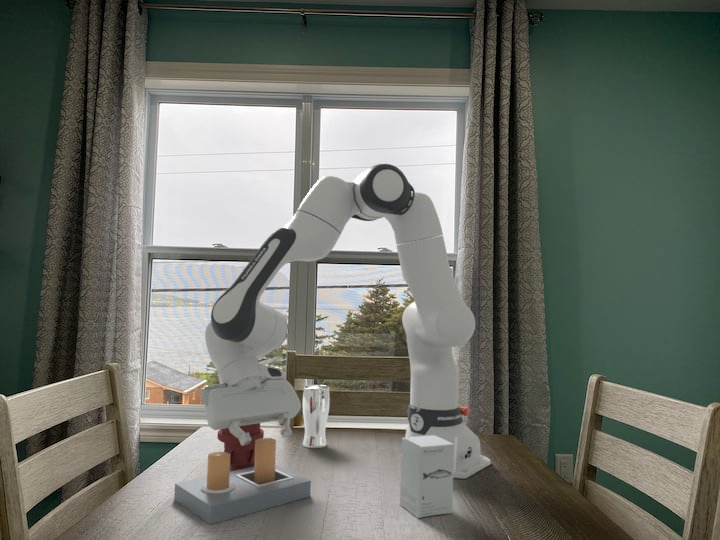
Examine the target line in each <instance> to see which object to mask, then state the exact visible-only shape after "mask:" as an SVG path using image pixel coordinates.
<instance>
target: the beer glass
mask: <svg viewBox="0 0 720 540" xmlns="http://www.w3.org/2000/svg"><path fill="white" fill-rule="evenodd" d="M302 394H303V395H302V415H303V416H302V417H303V423H304V437H303V441H302V446H303V447H304V448H307V449H323V448H325V447H326V446H327V439H326V428H327V422H328V418H329V417H328V416H329V412H330V386H328V385H324V384H308V385H307V384H306V385H304V386H303V393H302Z"/></svg>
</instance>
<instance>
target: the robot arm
mask: <svg viewBox="0 0 720 540" xmlns="http://www.w3.org/2000/svg"><path fill="white" fill-rule="evenodd" d="M383 218H384V219H386V220H387V221H388V223H389V224H390V226H391V228H392V231H393V233H394V239H395V245H396V250H397V254H398V260H399V265H400V270H401V274H402V278H403V280H404V281H405V283H406V284H407V285H406V286H408V288H409V291H410V293H411V296H412V298H413V300H414V301H413V302H411V303H410V304H409V305H408V306H406V308H405V309H404V311H403V313H402V318H401V319H402V320H401V321H402V327H403V329H404V331H405V337H406V344H407V351H408V358H409V365H410V388H409V389H410V391H409V393H410V395H409V397H410V398H409V399H410V402H409V404H408V405H407V406H408V407H407V421H408V424H407V426H406V429H405V436H404V437H418V436H431V435H435V436H437V437H440V438H442V439H444V440H446V441H449V442H451V443H453V444H454V470H453V479H467V478H469V477H471V476H473V475H475V474H476V473H477V472H479V471H482V470H483V469H485V468H486V467H488V466H490V465H491V464H492V463H491V462H492V461H491V459H490V458H489V457H487V456H485V455H482V452H481V441H480V439H479V436H478V435H476V433H474V432H473V431H472V430H471V429H470V428H469V427H468V426H467V425H466V424H465V423H464V419H463V416H464V417H468V416H469V414H470V412H471V411H470V407H467V406H462V405H461V406H459V387H460V386H459V385H460V384H459V383H460V373H459V370H458V368H457V366H456V362H455V360H454V354H453V351H452V348H455V347H460V346H462V345H464V344H466V343H467V342H468V341H470V339H471V338H472V336H473V335H474V334H475V330H476V319H475V318H476V317H475V316H474V313H473V312H472V310H471V309H470V307H469V306H468V305H467V304H466V302H465V301H464V298H463V297H462V294H461V292H460V289H459V287H458V285H457V282H456V280H455V278H454V275H453V272H452V269H451V266H450V262H449V257H448V252H447V247H446V243H445V238H444V234H443V229H442V225H441V222H440V219H439V215H438V213H437V210H436V207H435V205H434V202H433V201H432V198H431V197H430V196H429V195H427V194H426V193H423V192H416V191H415V188H414V187H413V185H411V183H410V182H409V181H408V178H407V176H406V175H405V174H404V172H403V171H402V170H401V169H399V167H397V166H395V165H392V164H389V163H379V164H374V165H373V166H370V167H369V168H368V169H366V170H364V171H363V172H361V173H360V174H359V175H358V176H357V177H356V178H355V179H354V180H352V181H351V182H350V181H346V180H344V179H342V178H339V177H337V176H333V175H331V176H329V175H327V176H323V177H320V179H318V180H317V182H316V183H315V184H314V185H313V186H312V188H310V190H309V191H308V193H307V194H306V195H305V197H304V198H303V200H302V201H301V203H300V205H299V206H298V207H297V210H296V212H295V213H294V214H293V216H292V217H291V218H290V220H289V221H288V222H287V224H285V226H283V227H279V228H278V229H275V230H274V231H273V232H272V233H271V234H270V235H269V236H268V237H267V239H266V240H264V242H263V243H262V245H261V246H260V248H259V249H258V250H257V251H256V253H255V254H254V255H253V257H251V259H250V261H249V262H248V263H247V264H246V265H245V267H244V268H243V270H242V272H240V274H239V276H238V277H236V279H235V281H233V283H232V284H231V285H230V287H228V289H226V291H224V293H222V294H221V295H220V296H219V297H218V298H217V300H216V301H215V302H214V304H213V305H212V306H213V307H212V309H211V313H210V322H209V323H208V324H207V326H206V327H205V331H204V333H205V334H204V335H205V338H204V340H205V344H206V349H207V351H208V355H209V357H210V360H211V363H212V365H213V367H215V368H216V370H217V378H218V380H219V384H218V383H217V384H207V385H204V387H203V388H201V389H200V391H199V396H200V400H201V401H202V402H201V403H202V404H203V407H204V412H205V418H206V421H207V425H208V427H210V429H212V430H214V431H219V430H220V429H226V428H229V431H230V433H232V434H233V435H234V436H235V437H237V438H238V439H239V441H240V444H241V446H243V445H249V444H250V442H251V437H250V434H249V432H247V433H245V432H244V431H243V430H242V429H241V428H240V427H239V426H245V425H251V424H257V423H260V424H262V423H263V424H264V423H270V422H274V421H279V423H280V424H281V425H282V428H281V429H280V431H279V433H280V435H281V437H282V439H285V438H286V439H287V438H290V437H291V436H292V434H293V431H292V429H291V427H290V426H291V419H293V418H295V417H296V416H297V415H298V414H299V412H300V411H301V407H302V402H301V400H300V398H299V396H298V394H297V392H296V391H295V388H294V386H293V385H292V384H291V382H289V381H288V380H286V379H285V378H286V376H287V375H286V373H285V371H284V370H283V369H281V368H277V367H272V366H268V365H266V364H263V363H259V360H258V359H261V358H264V357H266V356H267V355H269V354H272V353H273V352H274V351H276V350H277V349H279V348H280V346H281V345H282V344H283V343H284V342H285V340H286V338H287V335H288V330H289V329H288V321H287V318H286V316H285V315H284V314H283V313H282V312H280V311H278V310H277V309H275V308H273V307H271V306H269V305H267V304H265V303H263V301H262V302H261V301H260V299H261V296H262V295H263V294H264V292H265V291H266V289H267V288H268V286H269V285H270V284H271V282H272V281H273V279H274V278H275V276H276V275H277V274H278V273H279V271H280V270H281V268H283V266H285V265H287V264H289V263H292V262H298V261H299V262H315V261H318V260H319V261H320V260H321V259H324V258H326V257H327V256H328V255H329V254H330V253H331V252H332V250H333V249H334V247H335V246H336V244H337V243H338V240H339V239H340V236H341V235H342V233H343V231H344V229H345V227H346V225H347V223H348V222H349V220H351V219H356V220H359V221H364V222H374V221H377V220H379V219H383Z"/></svg>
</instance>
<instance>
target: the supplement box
mask: <svg viewBox="0 0 720 540" xmlns="http://www.w3.org/2000/svg"><path fill="white" fill-rule="evenodd" d="M400 453H401V455H400V484H399V485H400V486H399V487H400V488H399V490H400V491H399V505H401V507H402V508H404V509H405V510H407V511H408V512H409V513H411V514H412V515H414V517H416V518H418V519H420V518H425V517H431V516H440V515H446V514H447V515H449V514H452V513H453V502H454V501H453V500H454V499H453V496H454V495H453V493H454V478H453V470H454V444H453V443H451V442H449V441H446V440H444V439H442V438H440V437H437V436H435V435H431V436H418V437H405V436H404V437H402V438H401V452H400Z"/></svg>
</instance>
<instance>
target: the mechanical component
mask: <svg viewBox="0 0 720 540" xmlns="http://www.w3.org/2000/svg"><path fill="white" fill-rule="evenodd" d="M239 427H240V428H241V429H242V430H243V431H244V432H245V433H247V432H249V434H250V437H251V442H250V444H249V445H243V446H241V444H240V441H239V439H238V438H237V437H235V436H234V435H233V434H232V433H230V431H229V428H226V429H219V430H217V440H218V441H220V442H221V443H222V444H223V448H224V450H223V452H228V453H230V454H231V456H230V471H235V470H239V469H244V468H249V467H253V466H255V440H257V439H261V438H265V437H264V435H265V433H264V432H265V431H264V430H263V429H262V428H261V423H257V424H251V425H245V426H239Z"/></svg>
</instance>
